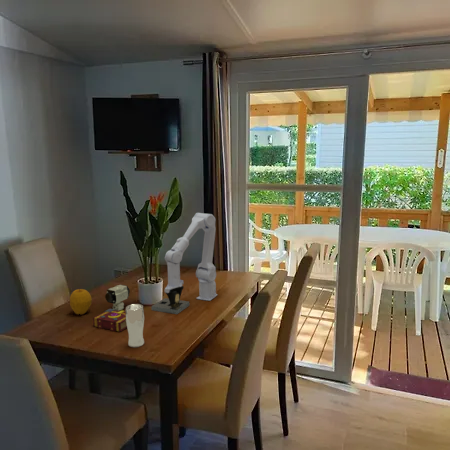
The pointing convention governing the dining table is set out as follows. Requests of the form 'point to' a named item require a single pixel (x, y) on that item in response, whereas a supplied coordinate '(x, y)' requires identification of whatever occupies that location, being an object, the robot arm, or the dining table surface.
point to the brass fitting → (176, 300)
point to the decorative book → (111, 320)
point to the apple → (80, 301)
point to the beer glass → (135, 324)
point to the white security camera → (117, 296)
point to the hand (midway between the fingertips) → (174, 302)
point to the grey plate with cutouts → (169, 306)
